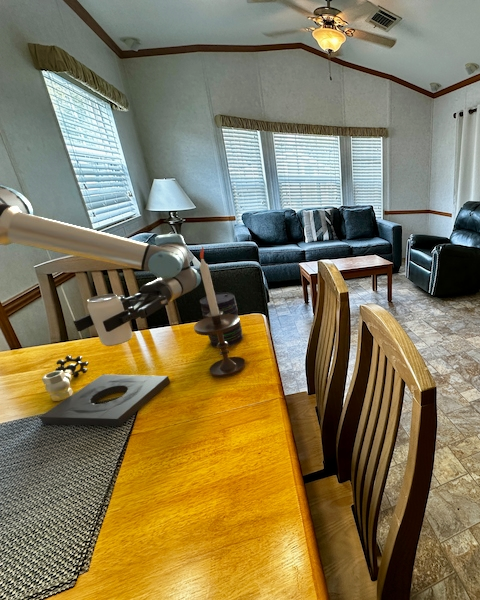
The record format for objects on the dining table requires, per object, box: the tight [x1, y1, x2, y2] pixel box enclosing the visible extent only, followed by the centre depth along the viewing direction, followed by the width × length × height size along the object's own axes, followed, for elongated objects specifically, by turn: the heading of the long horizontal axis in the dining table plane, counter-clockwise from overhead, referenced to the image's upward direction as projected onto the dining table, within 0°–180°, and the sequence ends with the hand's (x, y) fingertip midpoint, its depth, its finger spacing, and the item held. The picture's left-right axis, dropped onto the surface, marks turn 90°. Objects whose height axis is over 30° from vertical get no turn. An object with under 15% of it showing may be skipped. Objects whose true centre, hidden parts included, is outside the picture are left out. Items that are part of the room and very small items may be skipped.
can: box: [86, 293, 134, 347], centre depth 83 cm, size 6×6×12 cm
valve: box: [41, 354, 90, 402], centre depth 83 cm, size 7×7×12 cm
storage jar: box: [199, 292, 244, 348], centre depth 105 cm, size 10×10×15 cm
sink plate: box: [39, 374, 171, 427], centre depth 80 cm, size 18×16×2 cm
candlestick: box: [193, 246, 246, 378], centre depth 86 cm, size 11×11×35 cm
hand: (91, 326), depth 78 cm, fingers closed on can, 6 cm apart
